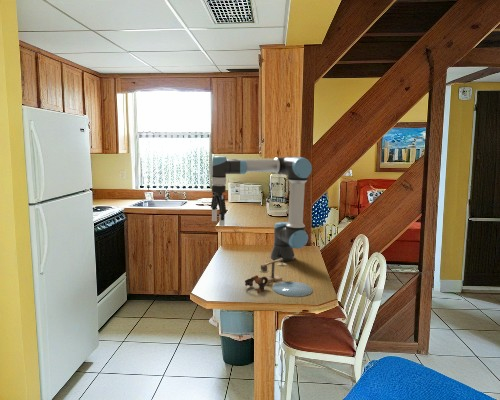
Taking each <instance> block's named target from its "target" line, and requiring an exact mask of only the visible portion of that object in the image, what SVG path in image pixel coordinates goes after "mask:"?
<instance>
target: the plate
mask: <svg viewBox="0 0 500 400" xmlns="http://www.w3.org/2000/svg"><path fill="white" fill-rule="evenodd" d="M272 290H273V292H274V293H277V294H279V295H281V296H285V297H291V298H292V297H295V298H296V297H297V298H300V297H307V296H308V295H310V294H312V293H313V288H312V286H310V285H309V284H307V283H303V282H299V281H279V282H277V283H274V284H273V285H272Z"/></svg>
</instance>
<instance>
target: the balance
mask: <svg viewBox="0 0 500 400" xmlns="http://www.w3.org/2000/svg"><path fill="white" fill-rule="evenodd" d="M281 260H282V261H281ZM278 262H279V263H278ZM275 263H276V264H275ZM269 265H271V275H270V276H269V275H268V276H266V277H267V279H268V283H270V282H278V281H279V282H282V281H283V277H282V276H281V275H277V274H276V275H275V265H276V266H277V267H283V268H284V267H287V266H288V264H287V263H285V262H284V261H283V259H282V258H281V259H278V260H272V261H269V262H267V263H263V264H260V269H258V272H259V273H262V274H265V273H269V272H270V271H269V269H268V266H269ZM263 281H265V279H264V280H263Z"/></svg>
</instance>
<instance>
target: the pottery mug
mask: <svg viewBox="0 0 500 400" xmlns="http://www.w3.org/2000/svg"><path fill="white" fill-rule="evenodd" d="M264 279H265V280H264ZM253 282H255V284H257V285H258V287H257V288H256V292H257V294H259V293H262V292H264V291H265V287H266V286H267V284H268V283H269V282H268V279H267V276H262V277H260V276H259V275H254V276H252V277H250V278H247V279H246V280H244V286H246V287H248V286H249V287H253V285H254V283H253Z"/></svg>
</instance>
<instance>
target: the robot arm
mask: <svg viewBox="0 0 500 400" xmlns="http://www.w3.org/2000/svg"><path fill="white" fill-rule="evenodd" d="M211 160H212V161H211V179H210V181H211V184H212V185H211V192H212V198H211V202H210V203H211V204H210V209H211V222H217V221H218V222H219V223H218V224H219V225H218V226H219V227H225V218H226V214H227V207H226V201H225V199H226V196H225V194H224V195H223V193H227V192H226V184H227V182H226V181H227V175H245V174H246V173H273V174H280V175H286V176H287V181H288V182H289V200H288V202H289V203H288V204H289V205H288V221H285V222H284V221H283V222H281V221H279V222H276V223H275V224H274V233H273V234H274V235H273V237H274V238H273V247H272V249H271V253H270V258H271V260H273V261H275V260H278V259H281V258H282V259H283V262H290V261H293V260H295V257H296V256H295V252H294V249H295V250H296V249H297V250H298V249H302V248H303V247H305V246H306V245H307V243H308V240H309V235H308V233H307V232H306V225H305V224H304V205H305V203H304V202H305V185H306V183H307V182H308V180H309V179H308V177H309V176H310V175H311V174H312V170H313V168H312V167H313V166H312V164H311V162H310V160H309V159H307V158H305V157H303V156H302V157H301V156H283V157H282V156H281V157H274V158H273V159H272V158H270V159H269V158H267V159H266V158H265V159H264V158H252V159H251V158H247V159H246V158H237V159H236V158H227V157H226V156H222V155H221V156H218V155H217V156H216V155H215V156H213V157H212V159H211ZM218 210H219V213H218ZM218 216H219V217H218ZM217 218H218V219H219V220H218V219H217ZM280 262H282V260H281V261H280Z"/></svg>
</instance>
